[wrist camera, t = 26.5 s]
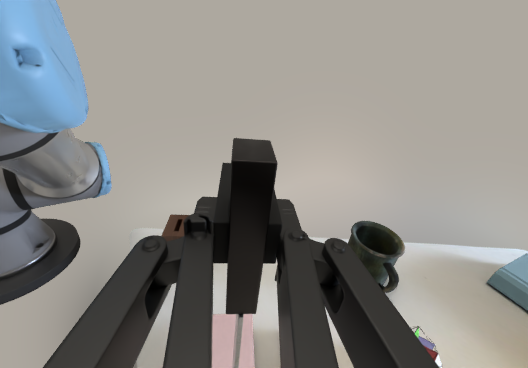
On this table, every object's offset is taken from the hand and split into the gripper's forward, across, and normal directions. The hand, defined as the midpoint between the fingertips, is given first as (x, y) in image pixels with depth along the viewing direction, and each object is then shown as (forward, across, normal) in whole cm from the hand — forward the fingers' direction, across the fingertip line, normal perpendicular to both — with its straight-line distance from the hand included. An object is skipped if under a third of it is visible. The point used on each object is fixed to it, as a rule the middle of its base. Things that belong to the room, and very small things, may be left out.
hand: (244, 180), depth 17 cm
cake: (+3, 0, -36) cm, 36 cm away
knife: (-6, 0, -18) cm, 19 cm away
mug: (+19, +31, -36) cm, 51 cm away
